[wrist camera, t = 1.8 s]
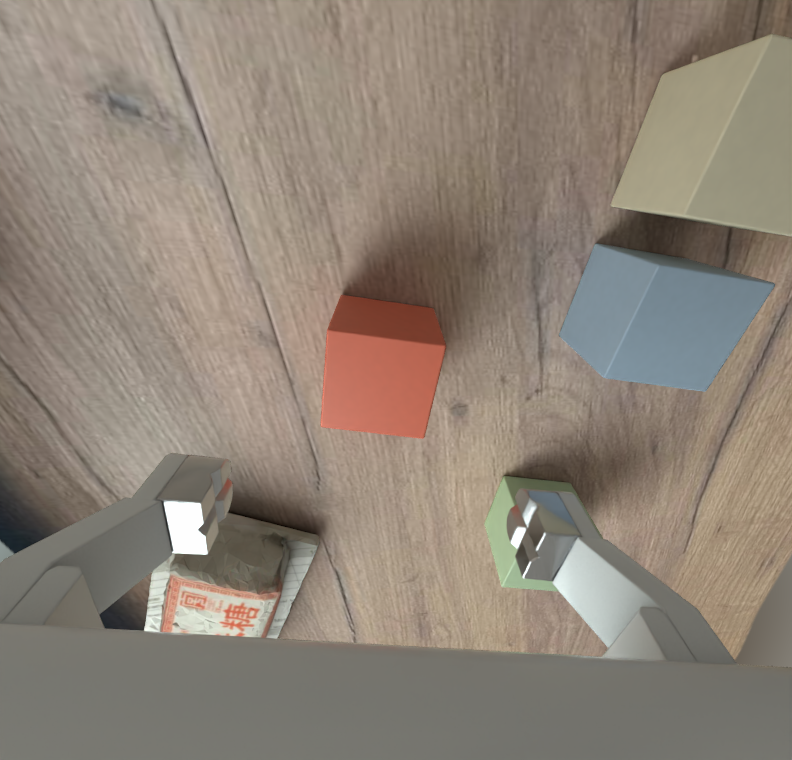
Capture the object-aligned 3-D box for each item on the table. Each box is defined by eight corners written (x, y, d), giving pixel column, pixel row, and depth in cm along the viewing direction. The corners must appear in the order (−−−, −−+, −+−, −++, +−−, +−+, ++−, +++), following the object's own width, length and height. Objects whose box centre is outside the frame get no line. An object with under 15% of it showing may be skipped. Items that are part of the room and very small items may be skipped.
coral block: (340, 294, 17) (327, 328, 13) (434, 307, 18) (447, 345, 14) (333, 376, 20) (320, 427, 16) (417, 387, 20) (424, 439, 16)
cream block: (661, 73, 14) (772, 32, 10) (770, 97, 14) (919, 66, 10) (609, 206, 16) (682, 216, 12) (705, 223, 16) (806, 239, 12)
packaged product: (122, 563, 19) (309, 600, 21) (170, 492, 23) (322, 529, 25) (113, 708, 27) (249, 725, 29) (150, 636, 31) (267, 655, 33)
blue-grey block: (594, 242, 16) (658, 263, 13) (686, 258, 17) (777, 283, 13) (558, 335, 19) (603, 378, 15) (640, 347, 19) (706, 392, 15)
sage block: (503, 474, 23) (526, 536, 19) (570, 482, 24) (607, 543, 20) (483, 523, 25) (501, 587, 21) (546, 529, 26) (574, 593, 22)
